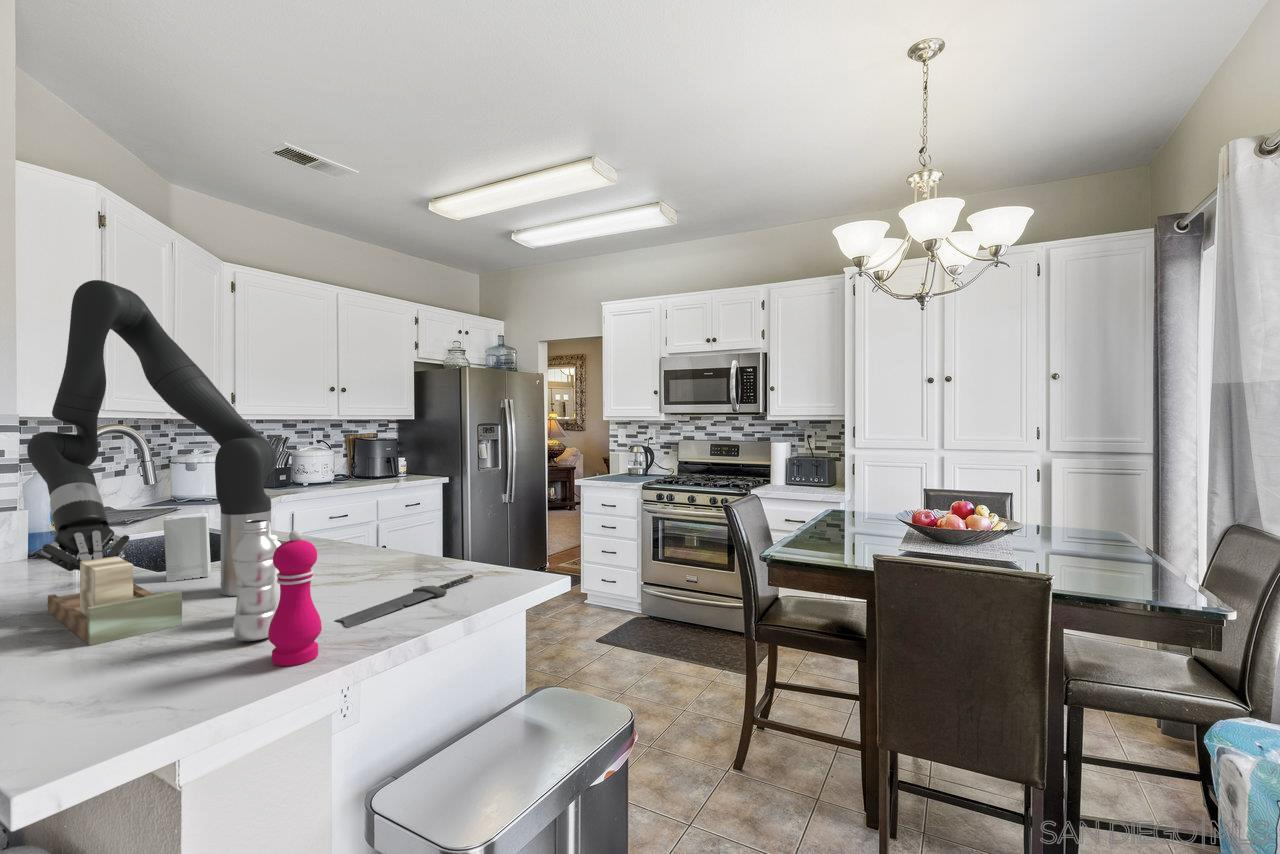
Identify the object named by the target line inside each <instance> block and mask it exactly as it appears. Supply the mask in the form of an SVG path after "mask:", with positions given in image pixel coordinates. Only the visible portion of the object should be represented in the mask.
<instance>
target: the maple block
mask: <svg viewBox="0 0 1280 854" xmlns="http://www.w3.org/2000/svg"><path fill="white" fill-rule="evenodd" d="M133 583H134V564H133V563H131V562H129V561H127V560H125V559H123V558H121V557H119V556H118V557H117V556H116V557H109V558H101V559H94V560H87V561H80V571H79V593H80V613H81V614H83V615H84V616H85V617H87V618H88V607H93V606H99V605H104V604H109V603H115V602H120V601H126V600H131V599H133Z"/></svg>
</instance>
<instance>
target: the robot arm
mask: <svg viewBox="0 0 1280 854" xmlns="http://www.w3.org/2000/svg"><path fill="white" fill-rule="evenodd" d="M70 310H71V311H70V321H69V331H68V332H69V333H68V342H67V351H66V357H65V359H66V360H65V366H64V368H63V373H62V377H61V381H60V385H59V387H58V390H57V394H56V397H55V400H54V402H53V406H52V411H51V414H52V417H53V418H54V419H55V420H57V421H61V422H64V423H67V424H71V425H73V426H75V429H76V434H74V433H66V432H65V433H64V432H58V431H42V432H38V433H36V434H34V435H33V436H32V437H31V438H30V440H29V441H28V443H27V449H26V451H27V452H26V453H27V456H28V460H29V462H30V463H31V465H32V466H33V468H34V469H35V470H36V471H37V473H38V474H39V475H40V477H41V478H42V479H43V481H44V482H45V484H46V485H47V486H46V487H47V490H48V495H49V507H50V511H49V512H50V516H51V518H52V521H53V527H54V531H55V537H54V540H53V541H54V542H52V543H45V544H43V545H42V548H41V552H40V556H41V558H43V559H45V560H47V561H48V562H51V563H53V564H54V565H57V566H58V567H60V568H61V569H64V570H66V571H68V572H72V571H75V570H76V571H79V572H80V561H87V560H94V559H101V558H109V557H116V556H117V557H119V556H120V554H121V553H122V552H123V551H124V550H125V549H126V547H127V546H128V543H129V541H130V536H129V535H127V534H124V535H122V536H120V535H117V534H115V531H114V530H113V529H112V528H111V527H110V525H109V521H108V517H107V513H106V509H105V506H104V501H103V498H102V495H101V493H100V492H99V489H98V486H97V482H96V477H95V475H94V472H93V471H92V469H91V468H90V466H92V464H93V463H94V462H95V461H96V460H97V459H98V456H99V441H98V420H99V419H98V417H99V413H100V411H101V407H102V404H103V400H104V397H105V395H106V394H105V393H106V390H107V375H106V374H107V373H106V366H105V360H104V359H105V358H104V355H105V354H104V353H105V351H104V349H105V344H106V339H107V336H108V334H109V332H110V330H112V331H113V332H114V333H116V335H118V336H119V337H120V338H121V339H122V340H123V341H124V342H125V343H126V344H127V345H128V346H129V347H130V348H131V349H132V351H134V353H135V354H136V356H137V357H138V359H139V362H140V365H141V369H142V370H143V371H142V372H143V373H144V376H145V378H146V380H147V382H148V384H149V385H150V386H151V387H152V389H153V390H154V391H155V392H156V393H157V395H158V396H159V397H160V398H161V399H162V400H163V401H164V402H165V403H166V404H167V405H168V406H169V407H170V408H171V409H172V410H173V411H175V412H176V413H177V414H178V415H180V416H182V417H183V418H184V419H186V420H188V421H189V422H191V423H192V424H194V425H195V426H197V427H198V428H200V429H202V430H203V431H204V432H205V433H207V434H208V435H209V436H210V437H212V438H213V439H214V440H215V442H216V443H218V445H219V446H220V447H219V448H218V450H217V452H216V456H215V460H214V477H215V478H214V479H215V495H216V499H217V502H218V504H219V507H220V595H223V596H230V597H231V596H233V597H234V596H235V597H237V584H236V574H235V569H234V563H233V562H234V561H233V552H234V549H235V548H236V546H237V545H238V543H239V542H240V541H241V540H242V538H243V537H244V534H243V533H242V530H243V522H245V521H250V520H268V521H269V522H270V527H271V528H272V500H271V497H270V496H268V495H267V494H266V491H265V488H264V477H266V476H269V475H270V474H271V473H273V472H274V471H275V469H276V466H277V464H278V456H277V453H276V449H275V448H274V446H273V445H272V444H271V443H270V442H269V441H268V440H267V439H266V438H265V437H264V436H262V434H261V433H259V432H258V431H257V430H256V429H255V428H254V427H252V426H251V425H250V423H248V422H247V421H246V420H245V419H244V418H243V417H242V416H241V415H240V414H239V413H238V412H237V410H236V409H235V408H234V406H232V404H231V403H230V402H229V401H228V400H227V398H226V397H225V396H224V395H223V394H222V393H221V391H220V390H219V389H218V388H217V387H216V386H215V385H214V383H213V382H212V381H211V380H210V378H209V377H208V376H207V375H206V374H205V372H204V371H203V370H202V369H201V368H200V367H199V366H198V364H196V363H195V362H194V361H193V360H192V359H191V358H190V356H189V355H187V353H186V352H185V351H184V350H183V349H182V348H181V346H180V345H178V343H176V341H174V340H173V339H172V338H171V337H170V336H169V334H168V333H167V332H166V331H165V330H164V328H163V327H162V326H161V324H160V323H159V321H158V320H157V318H156V317H155V316H154V314H153V313H152V312H151V310H150V309H149V307H148V306H147V305H146V302H144V300H143V299H142V298H141V297H140V296H139V295H138V294H137V293H135V292H134V291H132V290H131V289H128V288H126V287H122V286H119V285H118V284H114V283H111V282H109V281H106V280H100V279H94V280H92V279H91V280H88V281H84V282H83V283H82V284H81V285H79V286H78V288H77V289H76V290H75V292H74V294H73V298H72V302H71V309H70ZM267 535H268V532H267ZM110 542H112V544H111V545H112V546H111V548H110V550H109V551H108V552H107V553H106V555H104V556H103V551H104V550H106V548H107V547H108V545H109V544H110Z"/></svg>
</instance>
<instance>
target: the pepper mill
mask: <svg viewBox="0 0 1280 854" xmlns="http://www.w3.org/2000/svg"><path fill="white" fill-rule="evenodd" d="M302 538H303V533H302V532H301V531H300V530H297V529H294V530H292V531H291V532H289V534H288V539H289V540H288V541H285V542H283V543H282V544H281V545H280V546H279V547H277V549H276V550H275V552H274V555H273V564H274V566H275V568H277V569H278V570H279V573H278V574H277V577H278V578H277V579H278V580H277V583H278V584H280V600H279V604H278V607H277V610H276V612H275V614H274V616H273V618H272V620H271V623H270V626H269V632H268V637H267V638H268V640H269V642H270V644H272V645H273V646H274V648H273V649H272V651H271V663H272V665H274V666H278V667H293V666H299V665H303V664H306V663H309V662H311V661H313V660H314V659H316V658H317V657H318V656H319V642H317V641H315V640H317V638H318V637H319V636H320V634H321V632H322V629H323V628H322V620H321V617H320V614H319V611H318V610H317V608H316V606H315V604H314V602H313V599H312V593H311V584H312V583H311V582H312V580H314V579H315V577H314V573H315V571H314V569H312V568H313V567H314V565H315V564H316V562H317V560H318V551H317V548H316V546H315V545H314V543H312V542H310V541H308V540H306V539H305V540H304V539H302Z"/></svg>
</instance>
